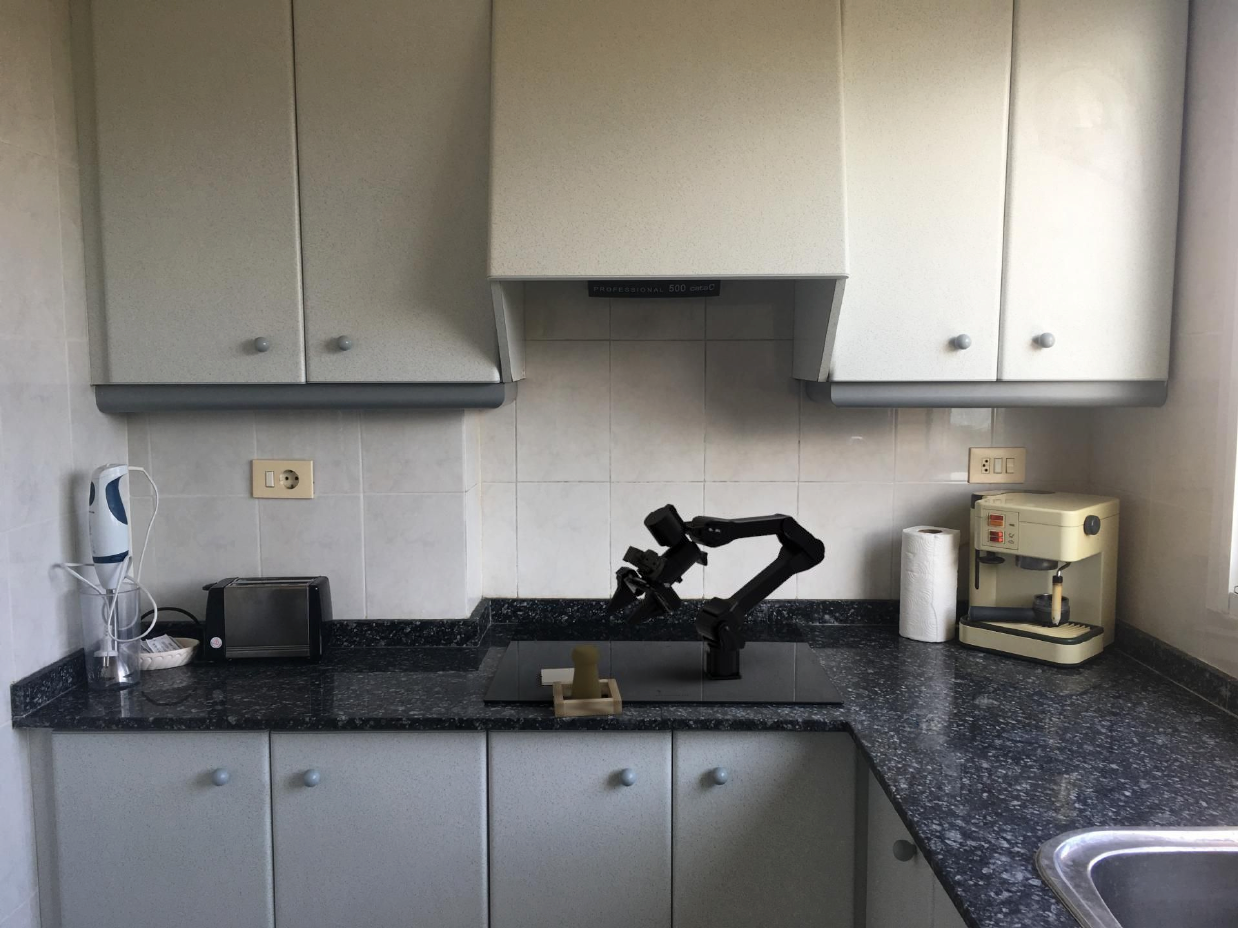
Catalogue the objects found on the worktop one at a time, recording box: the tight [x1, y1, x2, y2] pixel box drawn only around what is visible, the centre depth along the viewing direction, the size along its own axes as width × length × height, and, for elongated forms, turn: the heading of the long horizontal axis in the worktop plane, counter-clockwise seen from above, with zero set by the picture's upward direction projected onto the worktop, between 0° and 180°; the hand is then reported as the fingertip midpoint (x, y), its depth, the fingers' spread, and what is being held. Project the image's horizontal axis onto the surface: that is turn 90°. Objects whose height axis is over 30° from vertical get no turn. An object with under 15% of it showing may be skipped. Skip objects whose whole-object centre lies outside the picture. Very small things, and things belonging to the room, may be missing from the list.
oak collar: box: [552, 678, 623, 718], centre depth 168 cm, size 12×12×2 cm
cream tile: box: [540, 667, 575, 686], centre depth 183 cm, size 8×8×1 cm
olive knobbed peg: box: [570, 644, 602, 700], centre depth 168 cm, size 6×6×11 cm
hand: (616, 618), depth 172 cm, fingers open, 9 cm apart
